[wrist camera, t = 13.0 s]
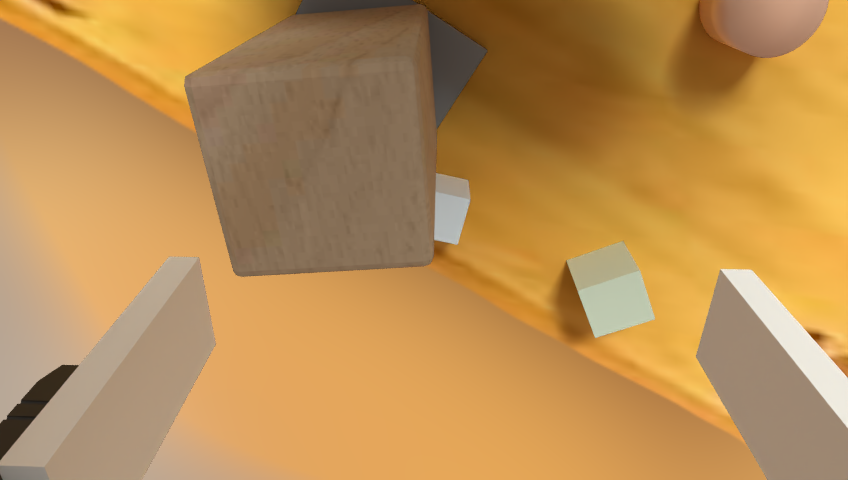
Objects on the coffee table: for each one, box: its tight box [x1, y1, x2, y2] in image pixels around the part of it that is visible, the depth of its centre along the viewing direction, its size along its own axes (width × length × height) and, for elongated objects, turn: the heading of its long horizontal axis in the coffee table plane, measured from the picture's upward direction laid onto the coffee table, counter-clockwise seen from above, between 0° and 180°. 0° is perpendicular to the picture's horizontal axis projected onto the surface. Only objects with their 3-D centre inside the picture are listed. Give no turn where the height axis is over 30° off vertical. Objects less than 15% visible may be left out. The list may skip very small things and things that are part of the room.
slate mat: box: [295, 0, 487, 129], centre depth 45 cm, size 13×13×1 cm
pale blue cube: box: [434, 173, 471, 245], centre depth 48 cm, size 4×4×4 cm
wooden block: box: [184, 4, 437, 277], centre depth 36 cm, size 10×10×20 cm
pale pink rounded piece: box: [699, 0, 829, 58], centre depth 40 cm, size 6×6×5 cm
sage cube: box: [566, 241, 655, 338], centre depth 50 cm, size 5×5×5 cm
